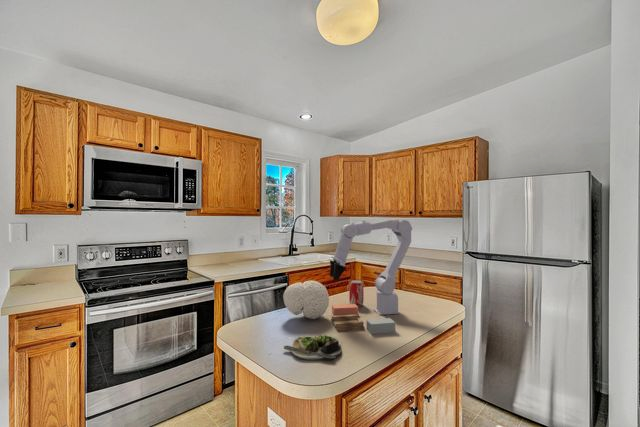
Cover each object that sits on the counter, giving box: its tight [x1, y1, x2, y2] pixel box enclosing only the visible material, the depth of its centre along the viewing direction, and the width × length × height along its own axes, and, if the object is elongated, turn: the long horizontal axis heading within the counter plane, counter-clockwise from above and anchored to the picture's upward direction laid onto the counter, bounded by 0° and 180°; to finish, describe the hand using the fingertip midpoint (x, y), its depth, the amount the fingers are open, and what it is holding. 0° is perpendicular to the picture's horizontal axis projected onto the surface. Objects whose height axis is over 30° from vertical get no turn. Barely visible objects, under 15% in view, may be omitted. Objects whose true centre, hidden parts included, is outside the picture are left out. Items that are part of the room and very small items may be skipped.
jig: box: [330, 314, 366, 332], centre depth 125 cm, size 11×12×2 cm
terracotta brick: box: [331, 303, 359, 316], centre depth 138 cm, size 11×5×4 cm, turn 98°
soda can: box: [348, 279, 364, 308], centre depth 151 cm, size 7×7×12 cm
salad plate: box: [283, 334, 342, 361], centre depth 102 cm, size 19×18×5 cm
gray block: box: [365, 317, 396, 335], centre depth 119 cm, size 10×5×4 cm, turn 101°
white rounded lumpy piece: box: [282, 279, 330, 320], centre depth 132 cm, size 20×18×16 cm
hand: (333, 278), depth 137 cm, fingers open, 7 cm apart
